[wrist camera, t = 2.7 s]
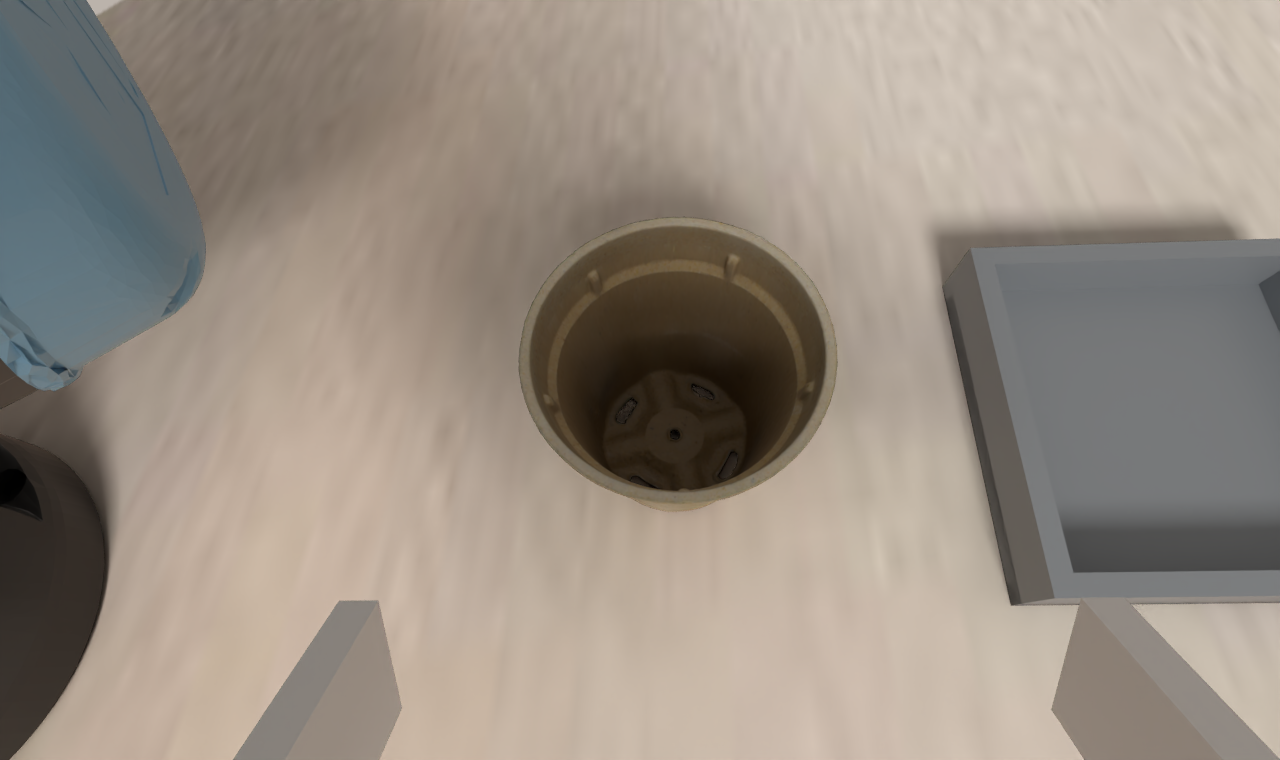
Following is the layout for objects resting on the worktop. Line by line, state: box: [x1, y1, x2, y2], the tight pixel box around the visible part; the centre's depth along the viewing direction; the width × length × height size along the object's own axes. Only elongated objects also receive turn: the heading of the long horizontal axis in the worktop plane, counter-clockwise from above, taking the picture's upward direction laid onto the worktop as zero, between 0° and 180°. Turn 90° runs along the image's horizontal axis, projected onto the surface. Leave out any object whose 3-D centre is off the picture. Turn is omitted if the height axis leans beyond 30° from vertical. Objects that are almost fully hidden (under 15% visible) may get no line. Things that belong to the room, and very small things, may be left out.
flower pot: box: [519, 217, 837, 512], centre depth 24 cm, size 9×9×9 cm
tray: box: [943, 239, 1280, 605], centre depth 25 cm, size 14×14×3 cm
